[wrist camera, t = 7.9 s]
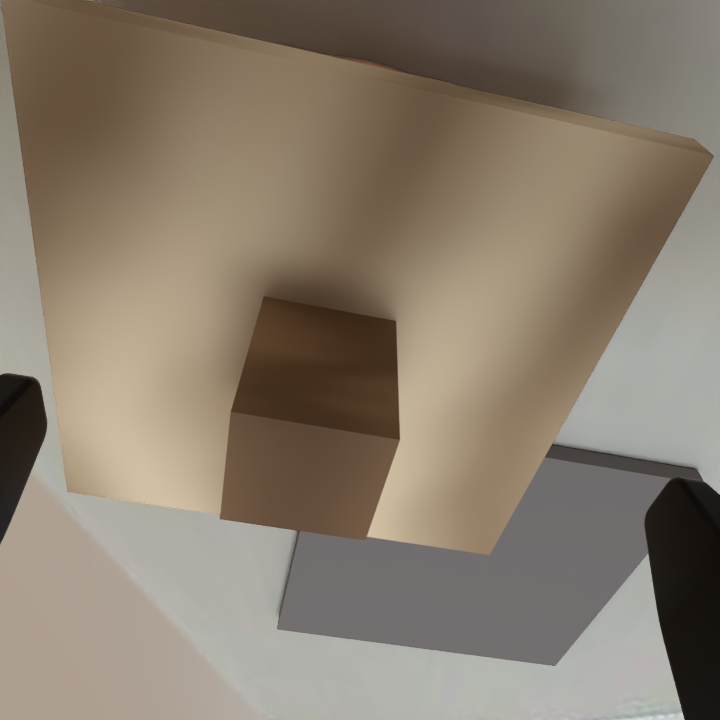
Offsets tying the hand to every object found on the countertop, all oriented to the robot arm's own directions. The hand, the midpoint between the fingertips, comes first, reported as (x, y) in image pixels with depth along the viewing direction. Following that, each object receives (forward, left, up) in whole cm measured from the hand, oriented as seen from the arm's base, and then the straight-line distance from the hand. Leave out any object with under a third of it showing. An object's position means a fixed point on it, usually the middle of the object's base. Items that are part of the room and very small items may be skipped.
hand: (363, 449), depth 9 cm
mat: (-8, +18, -12) cm, 24 cm away
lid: (+1, +3, -7) cm, 8 cm away
